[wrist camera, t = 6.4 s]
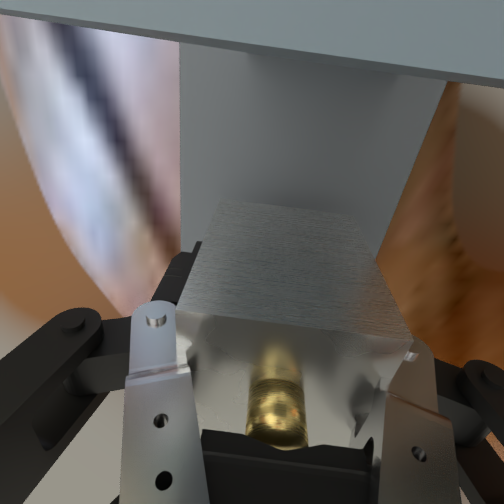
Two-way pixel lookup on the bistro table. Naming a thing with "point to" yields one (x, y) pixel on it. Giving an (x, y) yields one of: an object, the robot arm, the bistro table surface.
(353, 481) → the robot arm
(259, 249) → the block
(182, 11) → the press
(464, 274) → the bistro table surface
